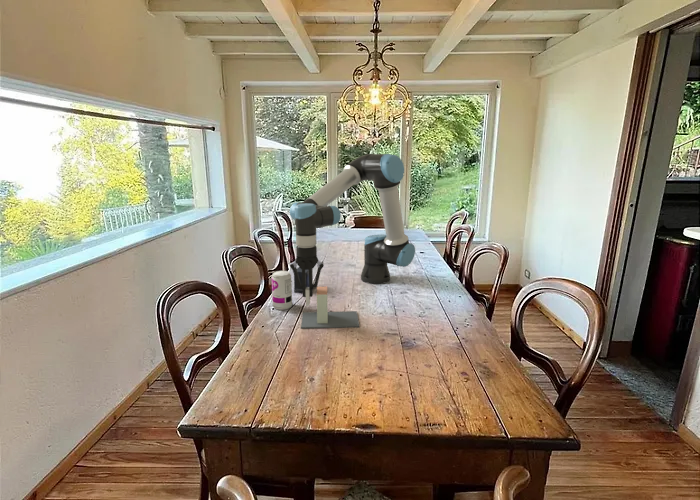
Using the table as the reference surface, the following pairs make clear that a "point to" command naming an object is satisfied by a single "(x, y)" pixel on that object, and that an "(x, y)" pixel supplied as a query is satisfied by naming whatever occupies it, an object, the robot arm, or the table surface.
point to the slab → (322, 305)
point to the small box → (301, 280)
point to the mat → (331, 320)
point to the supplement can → (281, 290)
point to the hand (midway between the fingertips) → (307, 304)
